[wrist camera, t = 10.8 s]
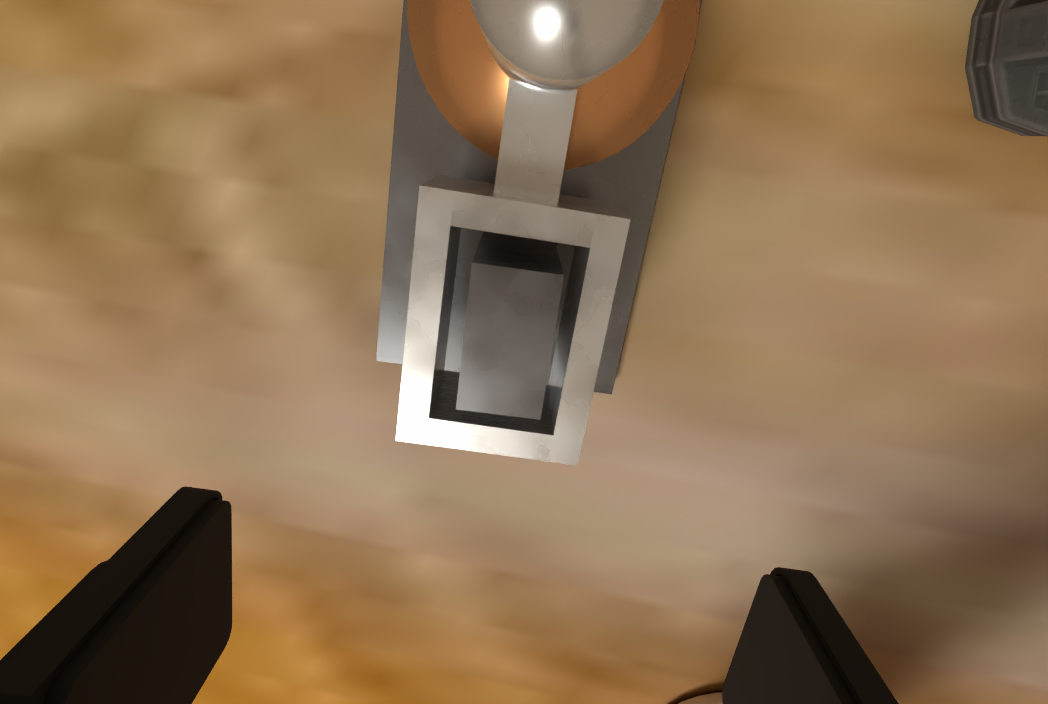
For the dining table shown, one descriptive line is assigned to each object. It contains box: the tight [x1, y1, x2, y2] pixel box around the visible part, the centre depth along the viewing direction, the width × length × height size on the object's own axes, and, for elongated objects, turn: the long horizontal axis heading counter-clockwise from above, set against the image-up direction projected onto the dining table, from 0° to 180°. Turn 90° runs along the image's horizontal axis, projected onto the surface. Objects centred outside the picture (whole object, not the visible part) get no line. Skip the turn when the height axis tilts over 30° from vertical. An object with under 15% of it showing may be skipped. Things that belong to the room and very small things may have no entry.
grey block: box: [456, 231, 564, 420], centre depth 26 cm, size 6×3×10 cm, turn 172°
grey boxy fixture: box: [376, 0, 702, 465], centre depth 23 cm, size 22×13×15 cm, turn 171°
